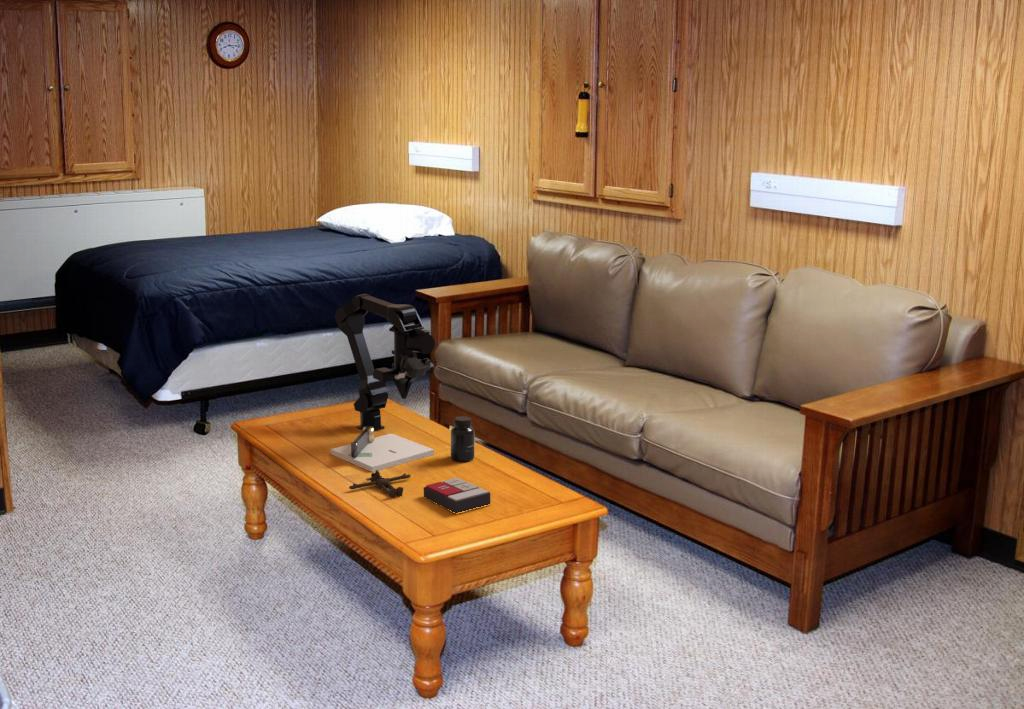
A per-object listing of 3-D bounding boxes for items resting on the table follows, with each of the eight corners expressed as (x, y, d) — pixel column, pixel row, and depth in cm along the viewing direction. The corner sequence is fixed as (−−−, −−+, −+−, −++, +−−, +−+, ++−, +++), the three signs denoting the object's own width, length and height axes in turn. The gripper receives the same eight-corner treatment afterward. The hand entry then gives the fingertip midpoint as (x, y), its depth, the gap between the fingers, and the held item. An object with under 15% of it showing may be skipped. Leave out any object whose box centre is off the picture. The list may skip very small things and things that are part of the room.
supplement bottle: (473, 462, 306) (474, 422, 303) (449, 462, 306) (449, 422, 303) (475, 454, 313) (475, 415, 310) (451, 454, 313) (451, 414, 310)
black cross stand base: (365, 494, 274) (342, 472, 286) (365, 509, 276) (341, 487, 287) (428, 481, 284) (402, 460, 295) (427, 496, 285) (402, 474, 297)
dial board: (330, 454, 312) (330, 448, 311) (391, 438, 326) (391, 433, 326) (372, 472, 298) (372, 466, 297) (434, 454, 312) (433, 449, 312)
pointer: (364, 438, 320) (364, 425, 319) (375, 439, 319) (375, 426, 318) (348, 456, 304) (347, 443, 303) (359, 457, 303) (358, 444, 302)
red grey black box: (457, 475, 287) (491, 489, 275) (458, 491, 287) (491, 506, 276) (422, 484, 280) (455, 499, 268) (423, 500, 281) (455, 515, 269)
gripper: (394, 358, 307) (394, 410, 311) (445, 348, 319) (445, 399, 323) (371, 350, 315) (372, 401, 319) (422, 341, 327) (422, 390, 331)
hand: (404, 398), depth 322 cm, fingers closed
